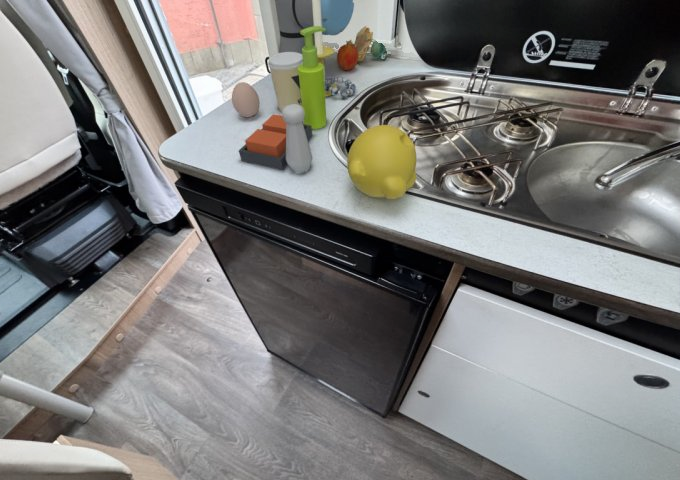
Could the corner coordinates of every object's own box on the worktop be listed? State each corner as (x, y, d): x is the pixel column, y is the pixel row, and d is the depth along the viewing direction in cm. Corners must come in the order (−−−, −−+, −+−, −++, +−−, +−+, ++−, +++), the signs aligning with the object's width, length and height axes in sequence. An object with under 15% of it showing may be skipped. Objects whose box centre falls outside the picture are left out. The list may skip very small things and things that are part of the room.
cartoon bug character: (343, 69, 108) (378, 75, 113) (365, 52, 92) (405, 61, 97) (345, 37, 105) (381, 46, 110) (368, 15, 89) (409, 25, 94)
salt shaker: (282, 172, 65) (271, 111, 55) (294, 158, 68) (286, 98, 58) (306, 177, 64) (299, 116, 53) (317, 163, 67) (312, 102, 56)
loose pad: (276, 130, 76) (273, 114, 72) (304, 134, 74) (302, 118, 70) (265, 140, 73) (261, 124, 69) (294, 146, 71) (292, 129, 67)
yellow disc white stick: (298, 90, 91) (284, -35, 69) (323, 80, 94) (316, -41, 73) (319, 100, 86) (311, -31, 64) (344, 89, 89) (344, -38, 68)
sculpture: (418, 192, 47) (377, 113, 44) (357, 223, 55) (320, 158, 52) (438, 169, 58) (406, 105, 55) (385, 198, 66) (355, 143, 63)
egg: (252, 107, 85) (244, 75, 79) (267, 115, 82) (260, 81, 76) (231, 116, 83) (221, 83, 76) (246, 124, 79) (237, 91, 73)
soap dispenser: (333, 123, 77) (331, 28, 61) (311, 131, 75) (302, 35, 59) (322, 114, 80) (316, 21, 64) (300, 122, 79) (288, 28, 62)
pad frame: (274, 128, 77) (272, 118, 75) (312, 135, 74) (311, 125, 72) (241, 161, 69) (238, 150, 67) (283, 170, 66) (281, 159, 64)
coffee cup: (304, 115, 81) (298, 65, 71) (272, 114, 82) (262, 64, 73) (312, 100, 86) (308, 51, 77) (281, 99, 88) (274, 51, 78)
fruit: (355, 64, 101) (356, 35, 95) (359, 72, 97) (360, 42, 91) (335, 66, 101) (335, 38, 94) (338, 74, 97) (338, 45, 90)
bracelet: (334, 79, 92) (336, 71, 90) (361, 91, 89) (362, 84, 88) (316, 88, 86) (317, 80, 85) (344, 101, 84) (345, 94, 83)
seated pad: (261, 144, 72) (257, 128, 68) (290, 150, 69) (288, 134, 66) (249, 156, 69) (244, 140, 65) (279, 163, 66) (276, 146, 63)
